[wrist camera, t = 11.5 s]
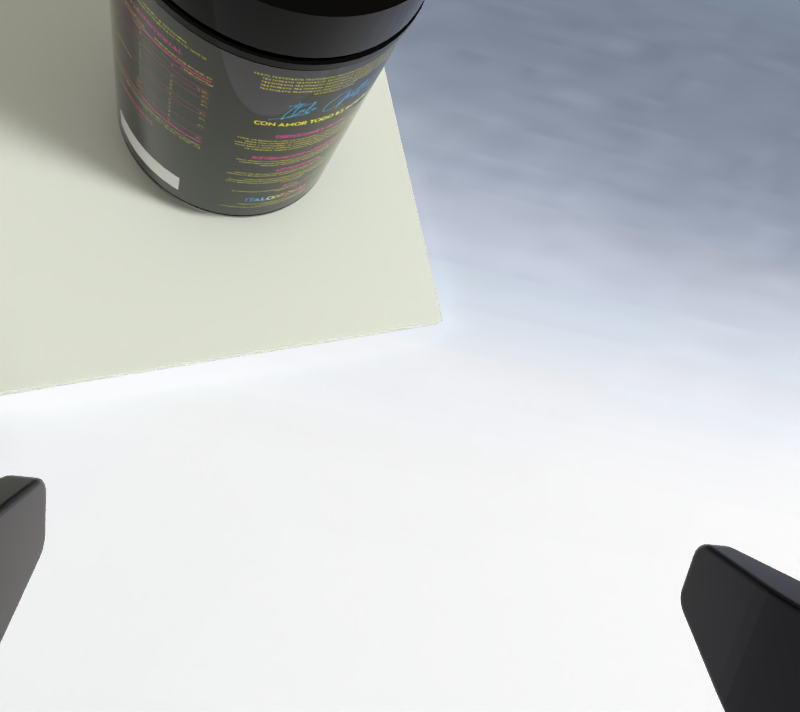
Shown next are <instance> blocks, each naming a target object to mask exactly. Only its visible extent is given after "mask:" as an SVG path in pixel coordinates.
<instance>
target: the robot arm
mask: <svg viewBox="0 0 800 712" xmlns="http://www.w3.org/2000/svg"><path fill="white" fill-rule="evenodd" d="M45 512H46V488H45V484H44V482H43V481H42V480H41V479H38V478H33V477H23V476H13V475H12V476H5V477H2V478H0V642H1V640H2V638H3V636H4V634H5V632H6V629H7V627H8V625H9V623H10V621H11V619H12V616H13V614H14V612H15V610H16V608H17V606H18V603H19V601H20V599H21V597H22V595H23V592H24V590H25V588H26V586H27V584H28V582H29V579H30V577H31V575H32V573H33V571H34V569H35V566H36V564H37V562H38V560H39V558H40V555H41V553H42V549H43V545H44V540H45ZM681 605H682V610H683V612H684V615H685V617H686V620H687V622H688V625H689V627H690V629H691V632H692V634H693V637H694V639H695V642H696V644H697V646H698V649H699V651H700V654H701V656H702V659H703V661H704V663H705V666H706V668H707V671H708V673H709V676H710V678H711V681H712V683H713V685H714V688H715V690H716V693H717V695H718V697H719V699H720V702H721V704H722V706H723V708H724V710H725V712H800V581H798V580H796V579H794V578H792V577H790V576H788V575H786V574H784V573H782V572H780V571H778V570H776V569H774V568H772V567H770V566H768V565H766V564H764V563H762V562H760V561H758V560H756V559H754V558H752V557H750V556H748V555H745V554H743V553H741V552H739V551H737V550H735V549H733V548H731V547H728V546H720V545H710V544H704V545H702V546H700V547H698V549H697V550H696V551H695V554H694V556H693V559H692V562H691V565H690V568H689V571H688V574H687V576H686V579H685V582H684V585H683V588H682V591H681Z"/></svg>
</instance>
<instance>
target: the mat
mask: <svg viewBox="0 0 800 712" xmlns="http://www.w3.org/2000/svg"><path fill="white" fill-rule="evenodd" d="M441 321H443V320H442V316H441V311H440V307H439V303H438V298H437V294H436V290H435V285H434V281H433V277H432V272H431V268H430V264H429V259H428V255H427V251H426V246H425V242H424V238H423V234H422V229H421V225H420V221H419V216H418V212H417V208H416V203H415V199H414V195H413V190H412V186H411V182H410V177H409V173H408V169H407V164H406V160H405V156H404V151H403V147H402V143H401V138H400V134H399V130H398V125H397V121H396V117H395V112H394V108H393V104H392V99H391V95H390V91H389V86H388V82H387V78H386V73H385V69H384V67H383V69H382V71H381V73H380V74H379V76H378V78H377V80H376V81H375V83H374V85H373V87H372V88H371V90H370V92H369V94H368V95H367V97H366V99H365V101H364V102H363V104H362V106H361V107H360V109H359V111H358V113H357V114H356V116H355V118H354V120H353V121H352V123H351V125H350V127H349V128H348V130H347V132H346V134H345V135H344V137H343V139H342V141H341V142H340V144H339V146H338V147H337V149H336V151H335V153H334V154H333V156H332V158H331V160H330V161H329V163H328V165H327V167H326V168H325V170H324V172H323V174H322V175H321V177H320V178H319V180H318V182H317V183H316V184H315V185H314V187H313V188H312V189H311V190H310V191H309V192H308V193H307V194H306V195H305V196H304V197H302V198H301V199H300V200H298V201H297V202H295V203H294V204H292V205H290V206H289V207H286V208H284V209H282V210H280V211H277V212H274V213H271V214H267V215H263V216H257V217H249V218H233V217H223V216H217V215H213V214H209V213H205V212H202V211H199V210H197V209H194V208H192V207H190V206H187V205H185V204H183V203H181V202H180V201H178V200H176V199H175V198H173V197H171V196H170V195H169V194H167V193H166V192H164V191H163V190H162V189H161V188H159V187H158V186H157V185H156V184H155V183H154V182H152V180H151V179H150V178H149V177H148V176H147V175H146V174H145V173H144V172H143V171H142V169H141V168H140V167H139V166H138V164H137V163H136V162H135V160H134V158H133V157H132V155H131V154H130V152H129V150H128V148H127V146H126V144H125V141H124V139H123V136H122V134H121V130H120V126H119V122H118V115H117V105H116V91H115V77H114V62H113V48H112V34H111V20H110V6H109V0H0V395H5V394H11V393H17V392H24V391H30V390H36V389H42V388H48V387H54V386H60V385H67V384H73V383H79V382H85V381H91V380H97V379H103V378H110V377H116V376H122V375H128V374H134V373H140V372H146V371H153V370H159V369H165V368H171V367H177V366H183V365H189V364H196V363H202V362H208V361H214V360H220V359H226V358H232V357H239V356H245V355H251V354H257V353H263V352H269V351H275V350H282V349H288V348H294V347H300V346H306V345H312V344H318V343H325V342H331V341H337V340H343V339H349V338H355V337H361V336H368V335H374V334H380V333H386V332H392V331H398V330H404V329H411V328H417V327H423V326H429V325H435V324H437V323H439V322H441Z"/></svg>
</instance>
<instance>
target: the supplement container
mask: <svg viewBox="0 0 800 712" xmlns="http://www.w3.org/2000/svg"><path fill="white" fill-rule="evenodd" d="M423 3H424V0H109V6H110V20H111V34H112V48H113V62H114V77H115V91H116V105H117V115H118V122H119V126H120V130H121V134H122V136H123V139H124V141H125V144H126V146H127V148H128V150H129V152H130V154H131V155H132V157H133V158H134V160H135V162H136V163H137V164H138V166H139V167H140V168H141V169H142V171H143V172H144V173H145V174H146V175H147V176H148V177H149V178H150V179H151V180H152V182H154V183H155V184H156V185H157V186H158V187H159V188H161V189H162V190H163V191H164V192H166V193H167V194H169V195H170V196H171V197H173V198H175V199H176V200H178V201H180V202H181V203H183V204H185V205H187V206H190V207H192V208H194V209H197V210H199V211H202V212H205V213H209V214H213V215H217V216H223V217H233V218H249V217H257V216H263V215H267V214H271V213H274V212H277V211H280V210H282V209H284V208H286V207H289V206H290V205H292V204H294V203H295V202H297V201H298V200H300V199H301V198H302V197H304V196H305V195H306V194H307V193H308V192H309V191H310V190H311V189H312V188H313V187H314V185H315V184H316V183H317V182H318V180H319V178H320V177H321V175H322V174H323V172H324V170H325V168H326V167H327V165H328V163H329V161H330V160H331V158H332V156H333V154H334V153H335V151H336V149H337V147H338V146H339V144H340V142H341V141H342V139H343V137H344V135H345V134H346V132H347V130H348V128H349V127H350V125H351V123H352V121H353V120H354V118H355V116H356V114H357V113H358V111H359V109H360V107H361V106H362V104H363V102H364V101H365V99H366V97H367V95H368V94H369V92H370V90H371V88H372V87H373V85H374V83H375V81H376V80H377V78H378V76H379V74H380V73H381V71H382V69H383V67H384V66H385V64H386V62H387V60H388V59H389V57H390V55H391V54H392V52H393V50H394V48H395V47H396V45H397V43H398V41H399V40H400V38H401V36H402V35H403V34H404V33H405V32H406V30H407V29H408V28H409V27H410V26H411V24H412V22H413V21H414V19H415V18H416V16H417V14H418V13H419V11H420V9H421V7H422V5H423Z"/></svg>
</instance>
